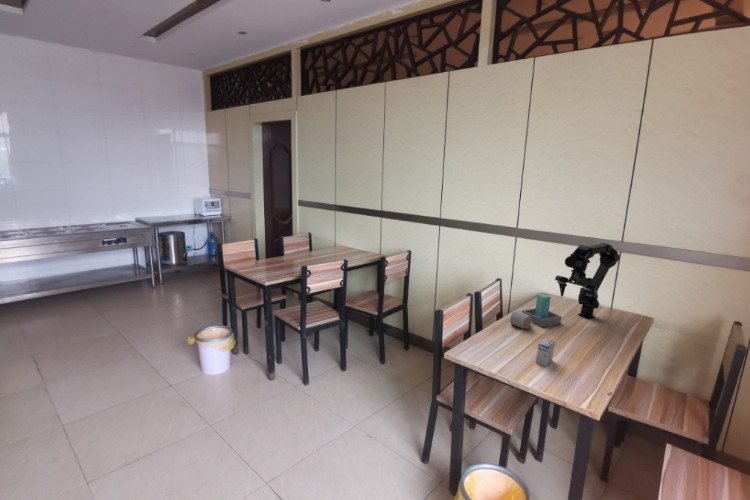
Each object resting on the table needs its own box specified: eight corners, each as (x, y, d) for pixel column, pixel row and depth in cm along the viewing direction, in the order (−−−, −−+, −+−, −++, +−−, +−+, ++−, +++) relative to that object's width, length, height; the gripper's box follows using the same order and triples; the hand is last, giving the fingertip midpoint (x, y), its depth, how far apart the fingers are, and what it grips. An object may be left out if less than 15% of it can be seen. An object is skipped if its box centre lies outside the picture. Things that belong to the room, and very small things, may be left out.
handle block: (541, 317, 209) (544, 294, 206) (547, 320, 205) (550, 297, 202) (534, 318, 207) (537, 294, 204) (539, 321, 203) (543, 297, 200)
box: (539, 314, 215) (540, 307, 214) (560, 323, 203) (561, 316, 202) (521, 317, 209) (522, 310, 208) (542, 327, 197) (543, 320, 196)
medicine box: (541, 356, 167) (544, 337, 165) (552, 360, 164) (555, 340, 162) (535, 363, 161) (538, 343, 159) (546, 367, 158) (549, 347, 156)
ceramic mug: (524, 331, 191) (526, 316, 190) (508, 326, 197) (510, 311, 196) (534, 326, 198) (536, 312, 197) (519, 321, 204) (521, 307, 203)
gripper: (569, 267, 194) (560, 297, 195) (605, 276, 194) (596, 307, 195) (559, 264, 205) (550, 293, 206) (593, 273, 205) (584, 301, 206)
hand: (570, 298), depth 203 cm, fingers open, 9 cm apart
